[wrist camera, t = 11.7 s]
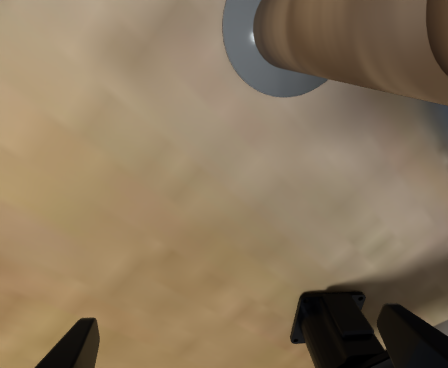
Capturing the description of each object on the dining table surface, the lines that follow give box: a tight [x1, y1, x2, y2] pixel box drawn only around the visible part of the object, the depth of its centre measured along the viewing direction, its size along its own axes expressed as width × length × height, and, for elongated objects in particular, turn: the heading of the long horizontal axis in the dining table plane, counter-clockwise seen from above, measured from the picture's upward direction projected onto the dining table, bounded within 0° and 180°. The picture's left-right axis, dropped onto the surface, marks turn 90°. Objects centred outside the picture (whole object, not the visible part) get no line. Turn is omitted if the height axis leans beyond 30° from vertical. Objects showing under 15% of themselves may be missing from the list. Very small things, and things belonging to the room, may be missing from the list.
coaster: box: [222, 0, 328, 97], centre depth 17 cm, size 8×8×1 cm
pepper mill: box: [253, 0, 448, 106], centre depth 9 cm, size 5×5×16 cm
